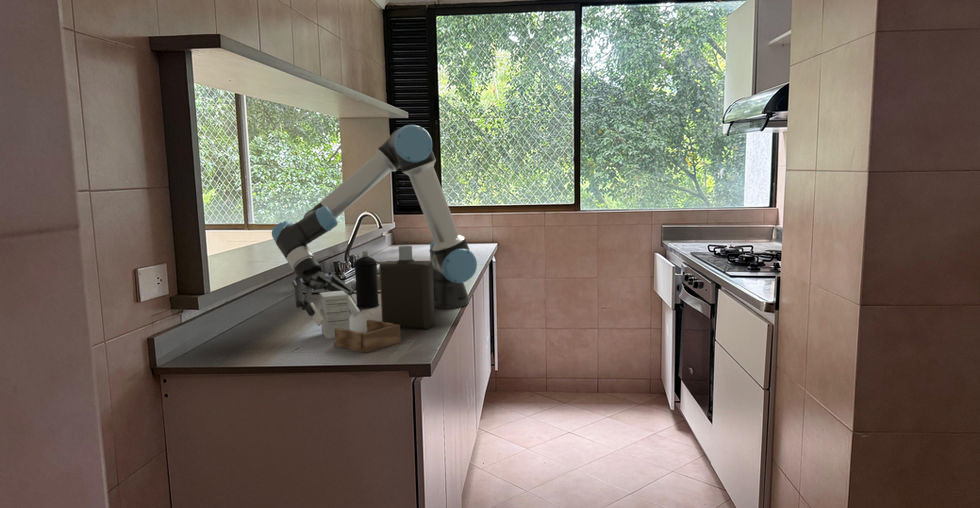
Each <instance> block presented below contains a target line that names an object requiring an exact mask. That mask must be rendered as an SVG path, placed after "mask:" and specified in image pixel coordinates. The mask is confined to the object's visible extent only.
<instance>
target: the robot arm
mask: <svg viewBox="0 0 980 508" xmlns="http://www.w3.org/2000/svg"><path fill="white" fill-rule="evenodd" d="M436 161H437V159H436V157H435V154H434V151H433V139H432V137H431V135H430V133H429V132H428V130H426V129H425V128H424V127H422V126H420V125H416V124H407V125H404V126H402V127H400V128H397V129H396V130H394V131H393V132H392V133H391V135H389V137H388V138H387V139H386V140H385V141H384V142H383V143H382V144H381V145H380V146H379V147H378V148H377V149H376V153H375V154H374V155H373V156H372V157H371V158H369V160H368V161H366V162H365V163H364V164H363V165H362V166H360V167H359V168H358V169H357V170H356V171H355V172H353V173H352V174H351V175H350V176H349V177H348V178H346V179H345V180H344V181H343V182H341V184H339V185H338V186H337V187H336V188H334V189H333V190H332V191H331V192H330V193H329V194H328V195H326V196H325V197H324V198H323V199H321V201H319V203H317V204H316V205H315V206H313V207H312V208H311V209H309V210H307V211H306V213H304V216H303V217H302V218H301V219H300V220H298V221H297V222H294V223H293V222H291V221H289V220H285V221H283V222H282V221H281V222H278V223H277V224H276V225H275V226H274V227H273V228H272V230H271V236H272V239H273V240H274V243H275V245H276V246H277V247H278V249H279V251H280V252H281V254H282V255H283V256H284V258H285V259H286V261H287V263H288V264H289V267H291V269H292V270H293V272H294V274H295V278H294V280H293V281H292V285H293V287H294V292H295V293H294V294H295V296H294V297H295V307H296V308H297V309H300V308H301V310H303V311H306V313H307V315H308V316H309V317H311V318H312V319H313V320H314V323H315V325H316V326H317V327H319V326H321V323H322V322H323V320H324V319H323V318H322V316H321V312H319V310H318V308H317V307H316V305H315V304H314V303H313V302H311V298H312V293H313V291H317V290H322V289H324V290H325V291H328V292H333V291H344V292H345V293H346V294H347V295H348V302H349V312H350V313H351V314H352V316H353V317H354V318H355V317H357V316H358V314H359V313H360V308H358V307H357V306H356V305H357V301H355V299H354V297H353V294H354V292H355V290H354V289H353V288H352V287H351V286H349V285H348V284H347V283H346V282H344V281H343V280H341V279H340V278H339V277H337V275H336V274H335V273H334V272H333V271H332V270H330V271H329V272H328V273H325V272H323V271H322V265H321V264H320V263H319V261H318V260H317V259H316V257H315V255H314V254H313V252H312V250H311V249H310V248H309V247H308V245H309V244H310V243H311V242H313V241H315V240H317V239H318V238H320V237H321V236H323V235H324V234H326V233H328V232H331V230H333V229H334V228H336V227H337V226H338V224H339V223H338V220H337V218H338V217H339V216H340V215H342V214H343V213H344V212H346V210H348V208H350V207H351V206H352V205H353V204H355V202H357V201H358V200H359V199H361V197H363V196H364V195H365V194H366V193H367V192H368V191H370V190H371V189H372V188H373V187H374V186H376V185H377V184H378V183H379V182H380V181H382V180H383V179H384V178H385V177H386V176H387V175H389V173H391V172H396V171H398V170H399V169H401V172H402V173H403V174H405V175H407V176H408V177H409V180H410V182H411V185H412V188H413V190H414V193H415V195H416V198H417V200H418V203H419V206H420V209H421V211H422V214H423V216H424V218H425V221H426V224H427V226H428V229H429V231H430V234H431V237H432V239H433V241H432V242H431V243H430V244H429V250H428V251H429V257H430V258H429V259H430V260H429V261H430V262H432V264H433V287H434V307H435V308H434V309H455V308H461V307H466V306H468V305H470V298H469V293H468V291H467V289H466V286H465V282H467V281H469V280H471V279H472V278H473V277H474V275H475V273H476V272H477V269H478V260H477V258H476V256H475V255H474V253H473V252H472V251H471V250H470V248H469V245H468V242H467V239H466V237H465V236H464V235H461V234H460V233H459V231H458V228H457V226H456V223H455V220H454V218H453V215H452V212H451V210H450V207H449V205H448V201H447V199H446V196H445V193H444V190H443V189H442V186H441V183H440V181H439V178H438V175H437V173H436V170H435V164H436ZM303 286H305V287H306V288H305V294H303Z"/></svg>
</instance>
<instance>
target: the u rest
mask: <svg viewBox="0 0 980 508" xmlns="http://www.w3.org/2000/svg"><path fill="white" fill-rule="evenodd" d="M401 339H402V338H401V328H400V325H398V324H396V325H395V324H392V323H387V322H382V320H381V321H379V320H374V319H366V332H365V333H364V332H363V331H357V330H356V331H355V330H351V329H350V330H346V329H341V328H336V329H335V338H334V341H335V342H333V347H337V348H342V349H346V350H351V351H355V352H359V353H365V354H369V353H371V352H374V351H377V350H380V349H383V348H386V347H390V346H393V345H396V344H398V343H399V344H400V343H401Z"/></svg>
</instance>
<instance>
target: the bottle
mask: <svg viewBox="0 0 980 508" xmlns="http://www.w3.org/2000/svg"><path fill="white" fill-rule="evenodd" d="M398 258H399V259H398V260H386V261H384V262H381V263H379V282H380V283H379V285H380V306H381V308H380V309H381V322H387V323H392V324H395V325H396V324H398V325H400V329H413V330H414V329H415V330H428V329H429V328H431V327H433V326H434V325H435V322H436V321H435V320H436V319H435V317H436V315H435V308H434V287H433V264H432V262H430V260H429V261H426V260H424V261H421V260H419V261H418V260H417V261H415V260H414V259H413V246H412V245H399V246H398Z"/></svg>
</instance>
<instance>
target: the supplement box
mask: <svg viewBox="0 0 980 508" xmlns="http://www.w3.org/2000/svg"><path fill="white" fill-rule="evenodd" d="M319 306H320V307H319V308H320V309H319V310H320V315H321V316H322V318H323V319H324V320H323V322H322V323H321V325H320V326H321V334H322V335H323V336H324V337H325V339H327V340H328V339H335V329H336V328H341V329H346V330H351V328H350V327H351V326H350V325H351V324H350V310H349V302H348V295H347V294H346V293H345V292H344V291H333V292H331V291H326V292H319Z"/></svg>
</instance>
